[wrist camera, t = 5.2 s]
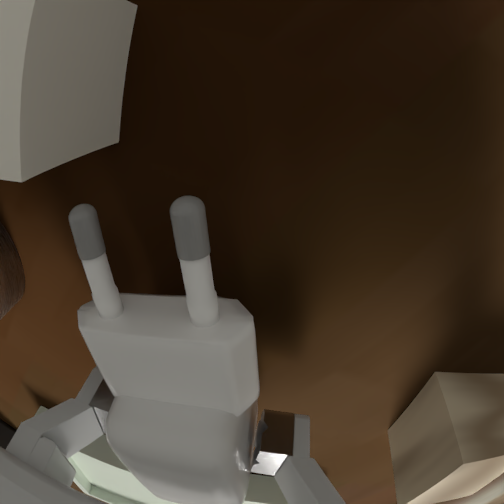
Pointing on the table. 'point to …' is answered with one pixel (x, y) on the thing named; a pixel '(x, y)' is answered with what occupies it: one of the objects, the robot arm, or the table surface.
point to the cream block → (60, 80)
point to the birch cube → (449, 438)
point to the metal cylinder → (9, 273)
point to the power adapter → (174, 368)
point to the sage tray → (131, 490)
